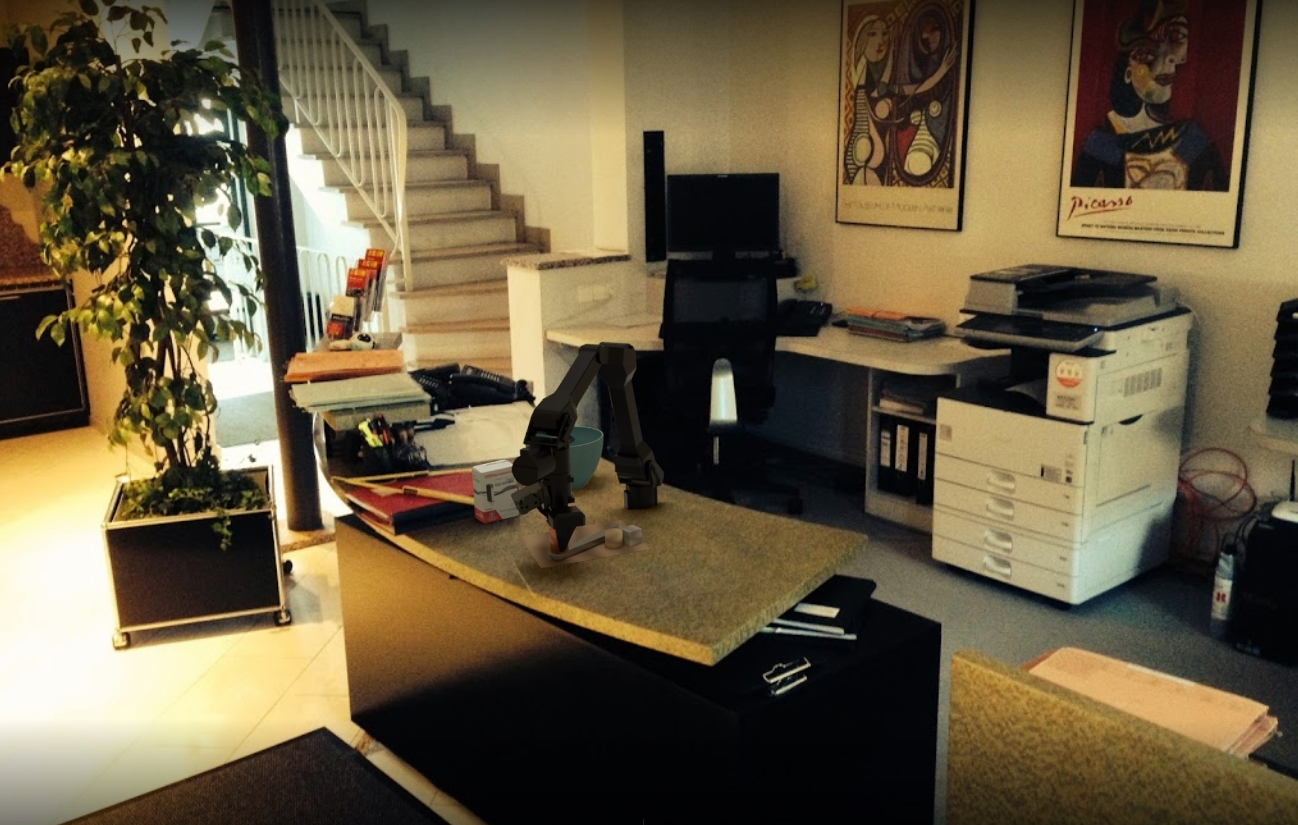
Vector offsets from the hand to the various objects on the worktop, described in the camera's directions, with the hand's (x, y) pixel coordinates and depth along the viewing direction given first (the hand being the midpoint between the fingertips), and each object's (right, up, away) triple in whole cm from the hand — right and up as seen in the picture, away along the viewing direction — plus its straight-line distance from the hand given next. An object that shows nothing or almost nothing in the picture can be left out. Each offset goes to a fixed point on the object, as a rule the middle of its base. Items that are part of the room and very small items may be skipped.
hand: (559, 547), depth 214 cm
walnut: (+10, 0, +6) cm, 12 cm away
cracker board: (+4, -1, +8) cm, 10 cm away
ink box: (-16, +3, +29) cm, 33 cm away
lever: (+4, -1, +5) cm, 6 cm away
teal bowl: (-2, +8, +47) cm, 48 cm away
